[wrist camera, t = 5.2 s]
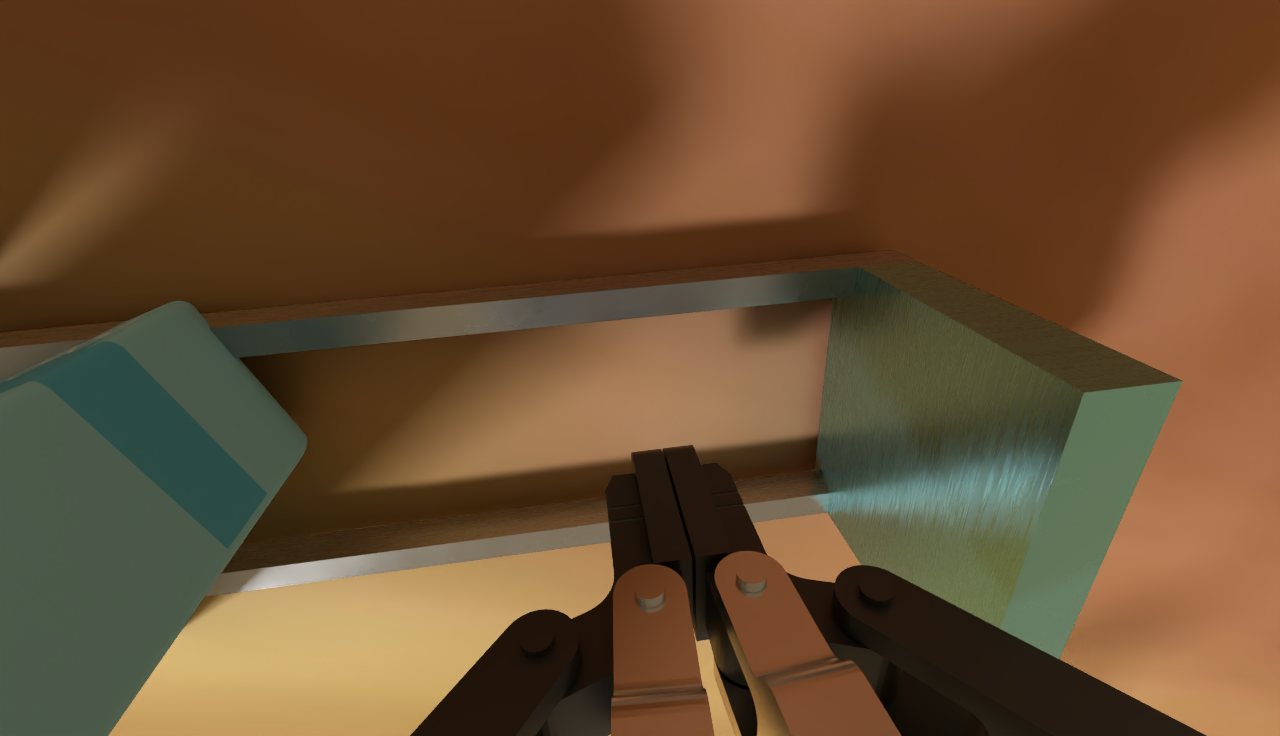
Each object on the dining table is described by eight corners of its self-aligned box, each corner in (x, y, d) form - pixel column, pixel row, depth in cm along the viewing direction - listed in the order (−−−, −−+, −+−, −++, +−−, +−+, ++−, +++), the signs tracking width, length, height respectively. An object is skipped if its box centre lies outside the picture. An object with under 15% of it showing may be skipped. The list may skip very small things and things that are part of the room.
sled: (-327, 362, 13) (-1487, 702, 5) (892, 250, 15) (1182, 381, 8) (-93, 607, 16) (-605, 1002, 9) (856, 483, 19) (1034, 714, 12)
